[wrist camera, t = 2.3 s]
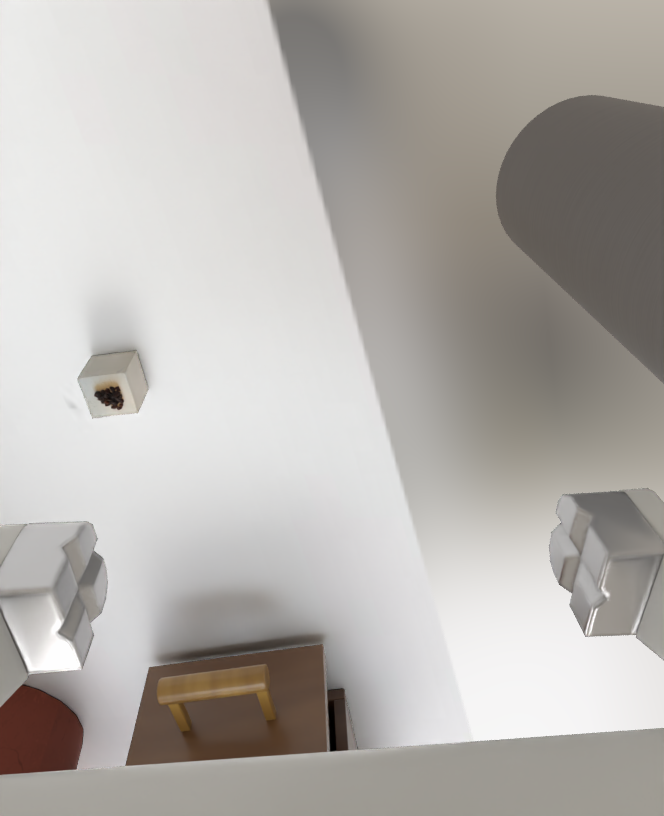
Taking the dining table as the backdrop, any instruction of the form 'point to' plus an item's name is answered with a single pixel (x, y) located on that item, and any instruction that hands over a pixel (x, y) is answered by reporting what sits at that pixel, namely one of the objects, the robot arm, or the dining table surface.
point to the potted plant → (38, 734)
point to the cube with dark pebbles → (113, 384)
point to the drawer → (234, 708)
